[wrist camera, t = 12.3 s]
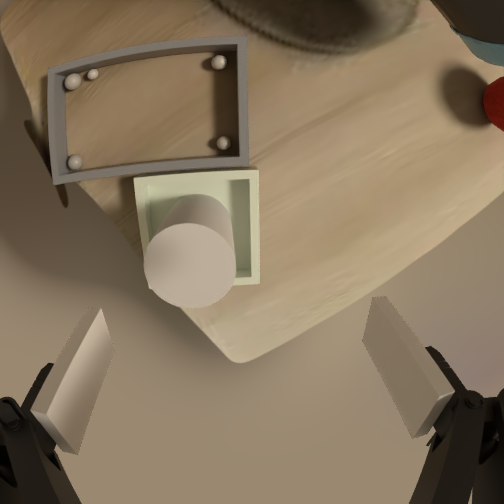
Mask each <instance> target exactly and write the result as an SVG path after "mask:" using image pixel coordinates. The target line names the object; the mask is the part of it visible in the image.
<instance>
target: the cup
mask: <svg viewBox="0 0 504 504" xmlns="http://www.w3.org/2000/svg"><path fill="white" fill-rule="evenodd" d="M144 272H145V276H146V279H147V281H148V283H149V285H150V287H151V288H152V289H153V291H154V292H155V293H156V294H157V295H158V296H159V297H160V298H162V299H163V300H165V301H166V302H168V303H170V304H172V305H175V306H178V307H182V308H191V309H193V308H202V307H206V306H209V305H211V304H214V303H215V302H217V301H219V300H220V299H221V298H223V297H224V296H225V295H226V294H227V292H228V291H229V290H230V288H231V286H232V285H233V282H234V279H235V276H236V259H235V250H234V241H233V232H232V223H231V218H230V215H229V212H228V211H227V209H226V207H225V206H224V205H223V204H222V203H221V202H220V201H219V200H217V199H215V198H214V197H211V196H209V195H205V194H192V195H188V196H185V197H183V198H181V199H180V200H178V201H177V202H176V203H175V204H174V205H173V206H172V208H171V209H170V211H169V212H168V214H167V215H166V217H165V219H164V220H163V222H162V224H161V225H160V227H159V228H158V230H157V232H156V233H155V235H154V237H153V238H152V240H151V242H150V243H149V245H148V247H147V249H146V252H145V255H144Z"/></svg>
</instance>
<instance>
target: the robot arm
mask: <svg viewBox="0 0 504 504" xmlns="http://www.w3.org/2000/svg"><path fill="white" fill-rule="evenodd" d="M430 1H431V2H432V3H433V4H434V6H435V7H436V8H437V9H438V10H439V12H440V13H441V14H442V15H443V16H444V18H445V19H446V20H447V22H448V23H449V24H450V27H451V29H452V30H453V31H454V32H455V33H456V34H457V35H459V36H460V38H461V39H462V40H463V41H464V43H465V44H466V45H467V47H468V48H469V49H470V51H471V52H472V53H473V54H474V55H475V56H476V57H478V58H480V59H482V60H484V61H485V62H487V63H490V64H493V65H498V66H504V0H430ZM362 341H363V343H364V345H365V347H366V349H367V350H368V352H369V354H370V356H371V358H372V360H373V361H374V364H375V366H376V367H377V369H378V371H379V373H380V375H381V377H382V379H383V381H384V383H385V384H386V387H387V389H388V391H389V392H390V395H391V397H392V399H393V401H394V402H395V404H396V407H397V408H398V411H399V413H400V415H401V417H402V419H403V421H404V422H405V425H406V427H407V429H408V431H409V433H410V435H411V437H412V439H414V438H417V437H420V436H423V435H425V434H427V433H428V432H429V431H430V429H431V428H432V426H434V428H435V430H436V432H435V434H434V435H433V436H432V438H431V439H430V440H429V442H428V443H427V445H426V446H429V445H430V443H431V446H430V449H429V452H428V455H427V458H426V461H425V464H424V467H423V469H422V472H421V475H420V477H419V480H418V483H417V485H416V488H415V490H414V493H413V495H412V497H411V500H410V502H409V504H468V501H469V498H470V494H471V490H472V504H504V389H502V390H501V391H500V393H499V394H498V396H497V397H489V398H483V396H482V395H480V394H479V393H478V392H475V391H471V390H468V391H467V389H466V388H465V387H464V385H463V384H462V382H461V381H460V380H459V378H458V377H457V375H456V374H455V373H454V371H453V370H452V368H450V366H449V364H448V363H447V362H446V361H445V359H444V358H443V356H442V355H441V354H440V352H438V351H437V350H436V349H434V348H433V347H431V346H429V347H424V346H423V344H422V343H421V342H420V341H419V339H418V338H417V336H416V335H415V334H414V333H413V331H412V330H411V328H410V327H409V326H408V324H407V323H406V322H405V321H404V319H403V318H402V316H401V315H400V314H399V313H398V311H397V310H396V309H395V308H394V306H393V305H392V304H391V302H390V301H389V300H388V299H387V297H386V296H383V297H373V298H372V302H371V306H370V311H369V315H368V319H367V324H366V328H365V332H364V336H363V340H362ZM114 352H115V349H114V346H113V344H112V341H111V338H110V335H109V332H108V328H107V325H106V322H105V319H104V316H103V313H102V309H101V308H87V310H86V312H85V313H84V315H83V316H82V318H81V320H80V321H79V323H78V325H77V326H76V328H75V329H74V331H73V333H72V334H71V336H70V338H69V339H68V341H67V343H66V344H65V346H64V348H63V350H62V351H61V353H60V355H59V356H58V358H57V360H56V362H55V364H53V363H48V364H47V365H46V366H45V367H44V368H42V369H41V371H40V372H39V374H38V376H37V378H36V380H35V381H34V383H33V385H32V386H33V387H31V389H30V391H29V393H28V394H27V396H26V398H25V400H24V402H23V404H22V406H21V408H20V407H19V405H18V404H17V402H16V401H15V400H14V399H13V398H11V397H3V398H1V399H0V504H82V503H81V502H80V500H79V498H78V496H77V494H76V492H75V491H74V489H73V487H72V485H71V483H70V481H69V479H68V477H67V475H66V473H65V471H64V469H63V466H62V464H61V462H60V460H59V457H58V455H57V453H56V452H55V450H54V449H55V446H56V444H57V445H58V446H59V448H60V449H61V450H62V451H64V452H68V453H72V454H76V455H78V453H79V450H80V447H81V444H82V440H83V437H84V434H85V431H86V428H87V425H88V422H89V419H90V416H91V413H92V410H93V408H94V405H95V402H96V399H97V396H98V393H99V391H100V388H101V386H102V383H103V380H104V378H105V375H106V373H107V370H108V367H109V365H110V362H111V360H112V357H113V355H114ZM472 487H473V488H472Z"/></svg>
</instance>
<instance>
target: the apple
mask: <svg viewBox="0 0 504 504" xmlns="http://www.w3.org/2000/svg"><path fill="white" fill-rule="evenodd" d="M483 106H484V109H485V113H486V115H487V117H488V118H489V120H490V122H492V123H493V124H494V125H495V126H496V127H498V128H499V129H501V130H502V131H504V77H500V78H498V79H497V80H495V81H494V82H492V83H491V84H489V85H488V86H487V88H486V89H485V92H484V97H483Z"/></svg>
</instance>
